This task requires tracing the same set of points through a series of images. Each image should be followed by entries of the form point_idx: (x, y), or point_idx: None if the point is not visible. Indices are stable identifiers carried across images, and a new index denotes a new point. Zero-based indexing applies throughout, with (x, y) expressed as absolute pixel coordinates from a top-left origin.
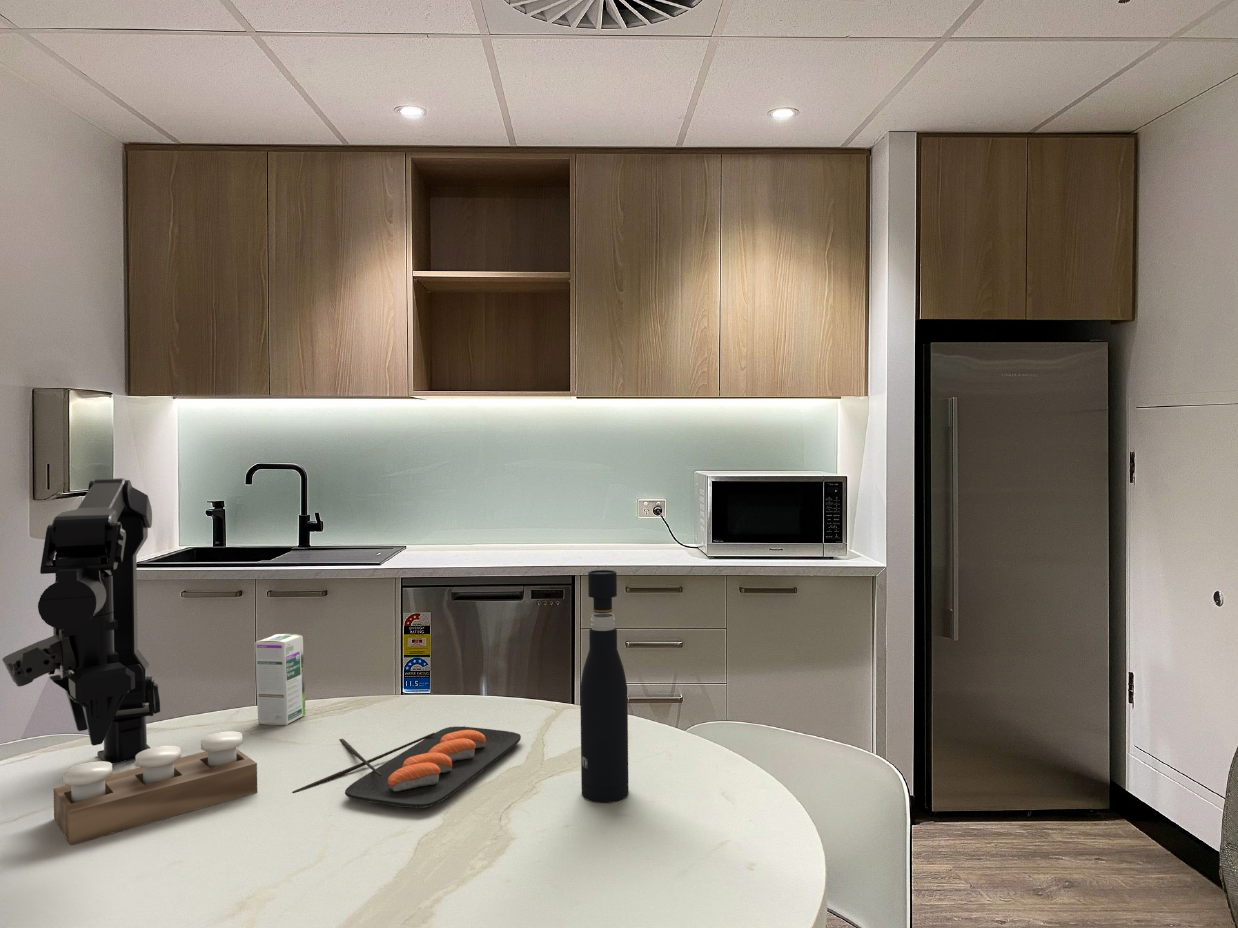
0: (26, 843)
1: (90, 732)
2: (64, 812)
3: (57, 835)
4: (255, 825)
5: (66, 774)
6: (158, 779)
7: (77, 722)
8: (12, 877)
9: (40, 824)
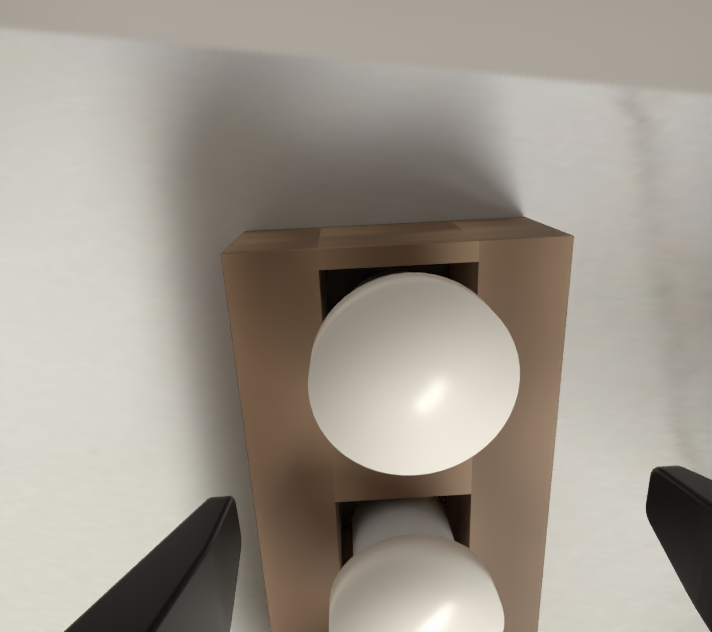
0: (363, 113)
1: (135, 569)
2: (331, 241)
3: (362, 208)
4: (68, 625)
5: (406, 294)
6: (355, 544)
7: (700, 505)
8: (83, 42)
9: (509, 173)
